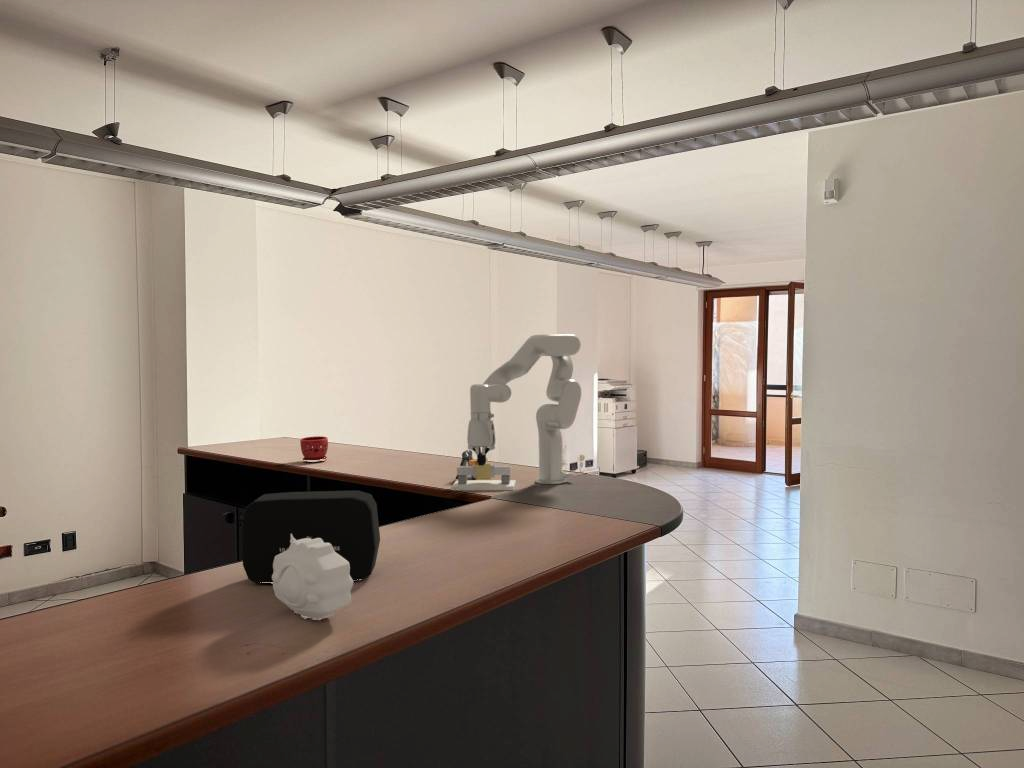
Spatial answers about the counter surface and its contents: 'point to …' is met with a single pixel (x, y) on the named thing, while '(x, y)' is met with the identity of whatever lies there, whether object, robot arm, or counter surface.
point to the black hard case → (311, 529)
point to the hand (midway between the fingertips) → (481, 464)
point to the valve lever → (474, 462)
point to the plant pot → (314, 447)
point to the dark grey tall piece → (465, 460)
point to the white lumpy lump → (312, 578)
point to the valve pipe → (484, 471)
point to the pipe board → (484, 484)
